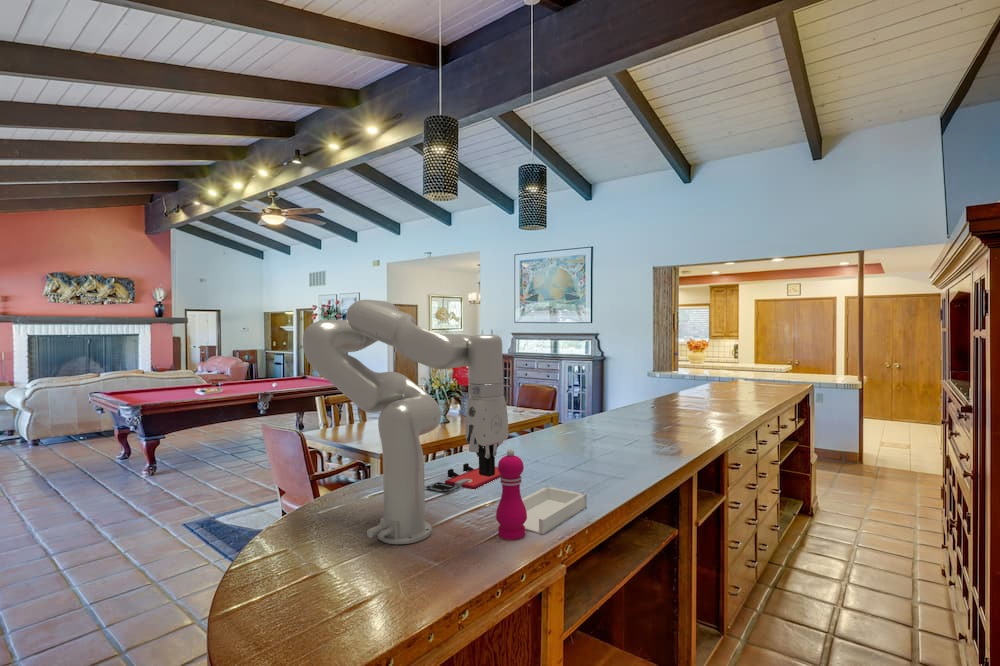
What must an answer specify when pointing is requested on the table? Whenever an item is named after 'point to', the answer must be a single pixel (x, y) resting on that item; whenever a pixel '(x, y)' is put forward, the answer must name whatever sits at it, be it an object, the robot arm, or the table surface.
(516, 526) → the pepper mill
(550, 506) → the grey tray
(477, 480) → the red board with handle
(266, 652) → the table surface
